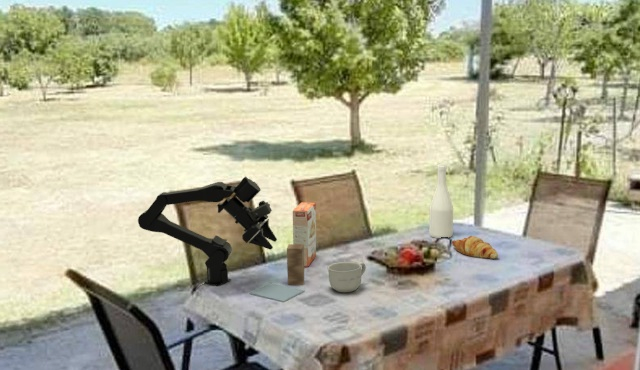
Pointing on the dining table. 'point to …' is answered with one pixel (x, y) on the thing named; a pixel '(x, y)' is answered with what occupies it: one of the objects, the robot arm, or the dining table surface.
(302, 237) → the cracker box
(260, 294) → the slate mat
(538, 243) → the dining table surface
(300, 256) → the walnut block
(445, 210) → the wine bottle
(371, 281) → the dining table surface
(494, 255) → the croissant
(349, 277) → the teacup
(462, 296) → the dining table surface
